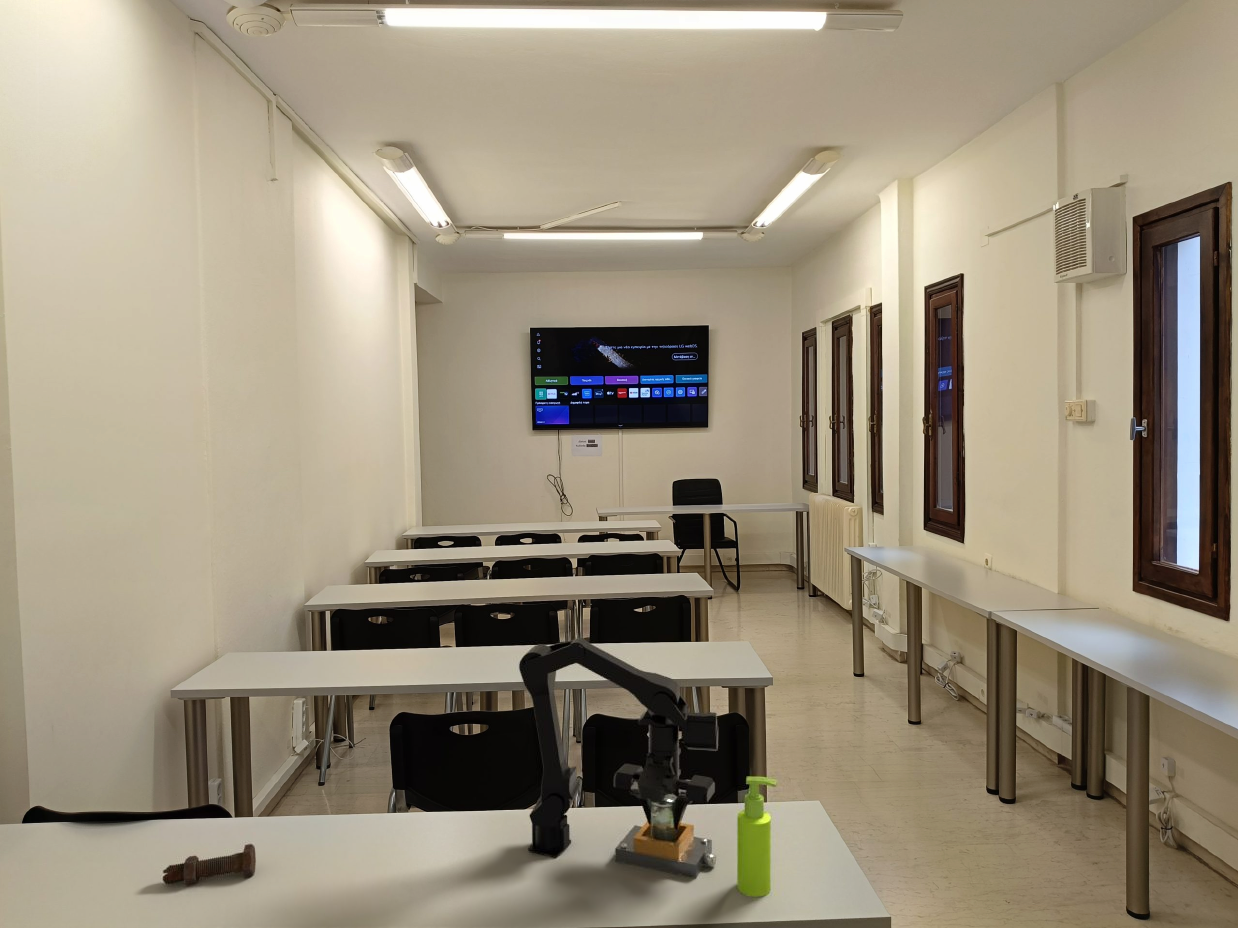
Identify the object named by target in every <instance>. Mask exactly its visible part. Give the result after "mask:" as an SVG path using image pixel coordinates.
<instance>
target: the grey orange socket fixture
mask: <svg viewBox="0 0 1238 928" xmlns="http://www.w3.org/2000/svg"><path fill="white" fill-rule="evenodd" d="M694 827H695V826H694V824H689V823H682V822H681V823H680V826H679V828H678V830H677V836H676V838H674V839H672V840H668V841H661V840H656V839H654V838H653V837H652V836H651V825H649V824H648V821H646V822H645V823H644V825H641V826H640V825H634V826H633V827H632V828H631V829H630V830H629V832H628V833H627V834H626V835H625V836H624V837H623V838H622V840H621V841H620V842H619V844H617V846H616V847H615V850H614V851H615V862H618V863H622V864H627V865H632V866H637V867H641V868H646V869H651V870H655V871H660V872H664V873H669V874H674V875H678V874H679V875H678V876H684V877H687V876H688V877H687V878H692V877H693V878H692V879H697V878H698V876H699V875H700V873H701V871H702V869H703V868H704V866H709V867H715V866H716V862H717V855H716V854H712V853H713V847H712V846H713V841H712V839H708V838H705V837H704V838H703V837H698V836H695V835H694V834H695V832H694V830H695V828H694ZM698 874H699V875H698Z"/></svg>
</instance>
